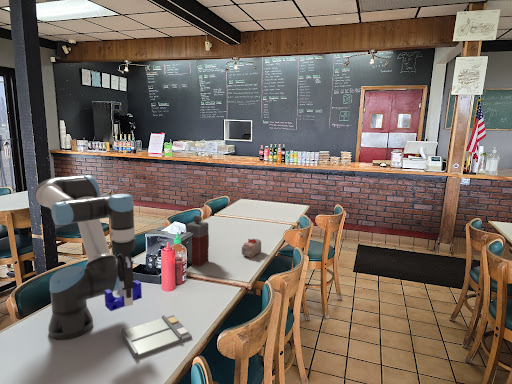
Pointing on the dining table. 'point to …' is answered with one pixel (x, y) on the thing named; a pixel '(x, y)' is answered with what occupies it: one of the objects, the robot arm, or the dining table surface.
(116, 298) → the cable clip
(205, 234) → the dark red bottle
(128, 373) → the dining table surface
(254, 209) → the dining table surface
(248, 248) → the food item
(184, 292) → the dining table surface
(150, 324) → the board
